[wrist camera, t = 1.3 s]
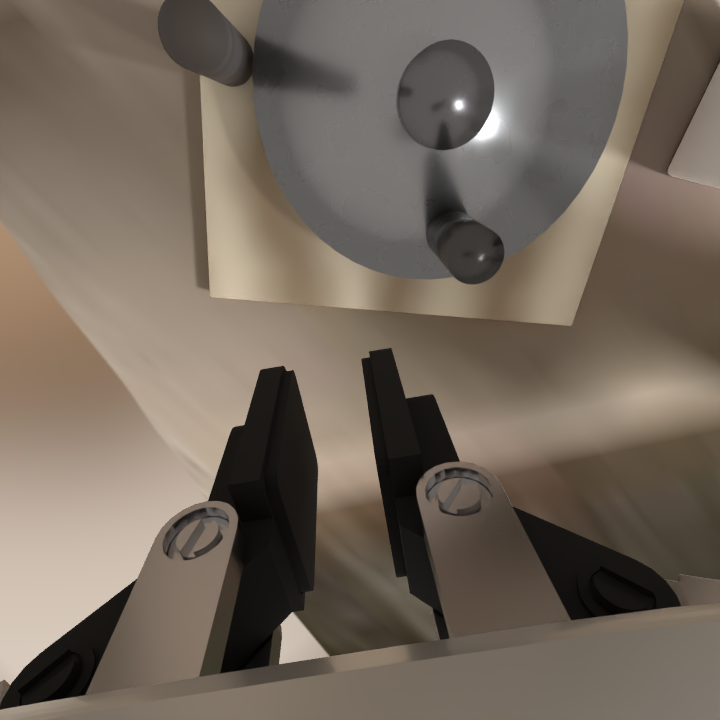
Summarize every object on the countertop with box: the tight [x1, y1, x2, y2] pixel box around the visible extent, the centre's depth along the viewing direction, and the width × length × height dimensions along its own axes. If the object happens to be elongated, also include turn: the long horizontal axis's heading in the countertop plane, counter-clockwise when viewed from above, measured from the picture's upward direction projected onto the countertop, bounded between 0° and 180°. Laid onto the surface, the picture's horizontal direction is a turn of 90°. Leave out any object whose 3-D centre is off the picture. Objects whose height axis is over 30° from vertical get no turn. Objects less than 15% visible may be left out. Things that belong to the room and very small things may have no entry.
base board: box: [158, 0, 684, 326], centre depth 21 cm, size 24×24×8 cm
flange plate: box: [252, 0, 628, 285], centre depth 20 cm, size 18×20×6 cm
